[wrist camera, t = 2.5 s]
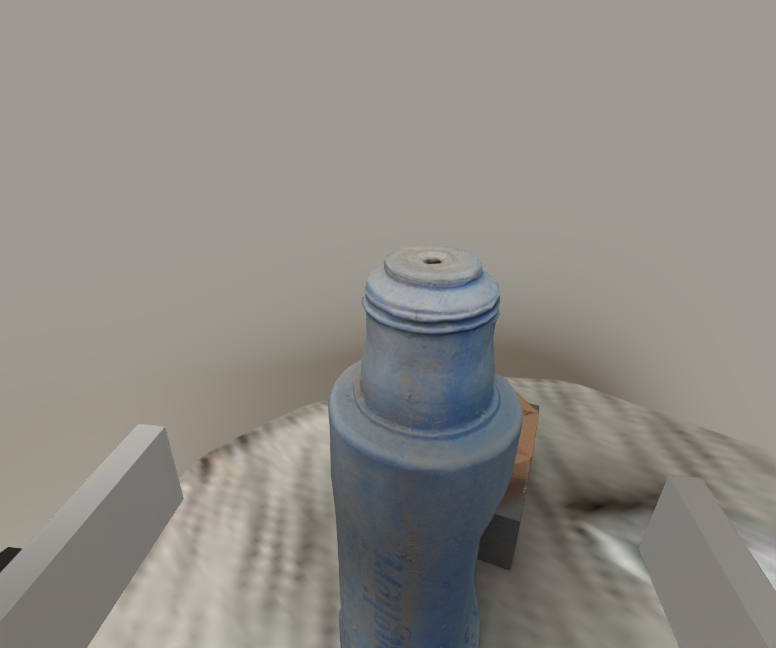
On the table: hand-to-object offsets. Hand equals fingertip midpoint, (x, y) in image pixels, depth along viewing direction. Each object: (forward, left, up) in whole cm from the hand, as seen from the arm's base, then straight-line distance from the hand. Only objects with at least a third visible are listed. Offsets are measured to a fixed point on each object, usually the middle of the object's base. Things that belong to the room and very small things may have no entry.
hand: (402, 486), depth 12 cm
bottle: (+2, -10, -27) cm, 29 cm away
